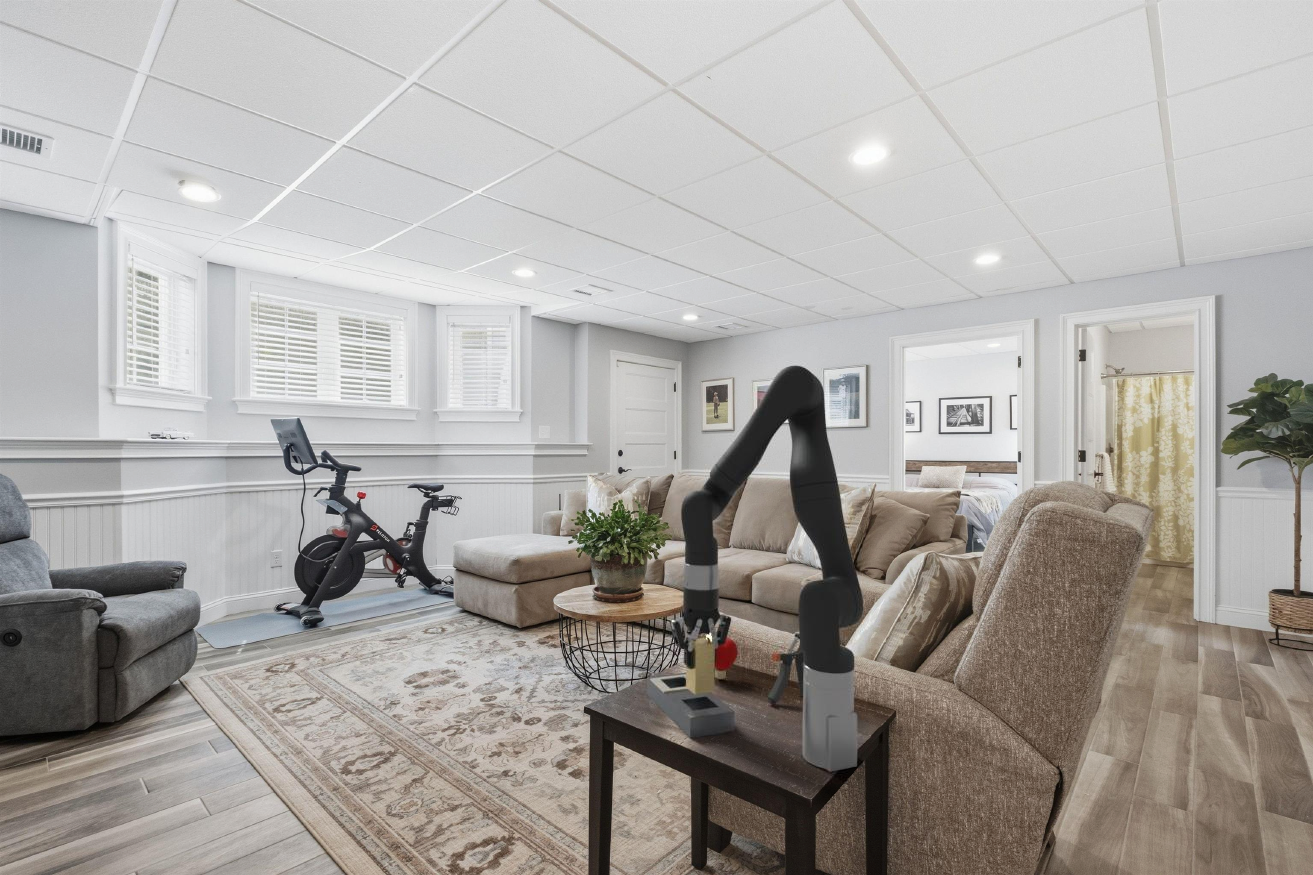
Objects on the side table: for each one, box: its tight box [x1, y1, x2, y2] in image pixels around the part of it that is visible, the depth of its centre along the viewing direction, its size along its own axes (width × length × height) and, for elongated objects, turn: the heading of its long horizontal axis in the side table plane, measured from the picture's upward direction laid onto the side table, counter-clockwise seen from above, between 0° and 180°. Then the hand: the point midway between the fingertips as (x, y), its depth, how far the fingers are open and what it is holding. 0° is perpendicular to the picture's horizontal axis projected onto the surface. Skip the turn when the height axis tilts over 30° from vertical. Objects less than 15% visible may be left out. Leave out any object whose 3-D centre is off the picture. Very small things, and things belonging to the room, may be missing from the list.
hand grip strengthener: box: [766, 632, 804, 706], centre depth 143 cm, size 2×13×15 cm, turn 123°
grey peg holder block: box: [646, 672, 736, 739], centre depth 136 cm, size 24×10×4 cm, turn 22°
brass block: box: [685, 637, 715, 695], centre depth 130 cm, size 4×4×10 cm
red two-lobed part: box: [714, 637, 739, 681], centre depth 156 cm, size 9×7×10 cm
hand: (700, 666), depth 130 cm, fingers closed on brass block, 4 cm apart
